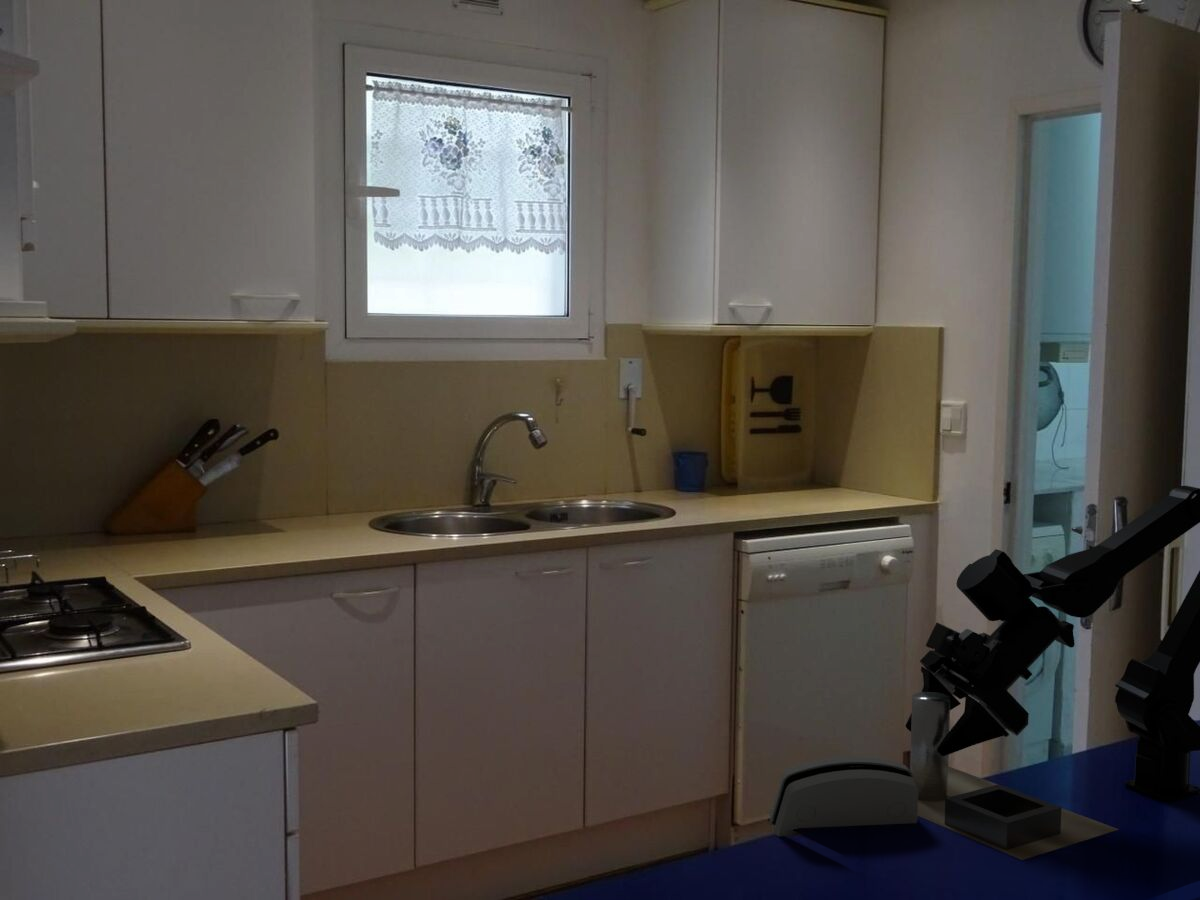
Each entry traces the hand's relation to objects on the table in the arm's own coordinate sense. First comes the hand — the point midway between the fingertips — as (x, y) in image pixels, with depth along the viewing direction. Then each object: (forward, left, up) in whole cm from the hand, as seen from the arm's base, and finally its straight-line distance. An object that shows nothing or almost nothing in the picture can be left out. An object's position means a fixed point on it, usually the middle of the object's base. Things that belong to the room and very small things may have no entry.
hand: (923, 741), depth 160 cm
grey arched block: (+13, +1, -8) cm, 16 cm away
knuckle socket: (0, +12, -7) cm, 14 cm away
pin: (-1, 0, -7) cm, 7 cm away
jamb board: (-3, +6, -8) cm, 10 cm away
